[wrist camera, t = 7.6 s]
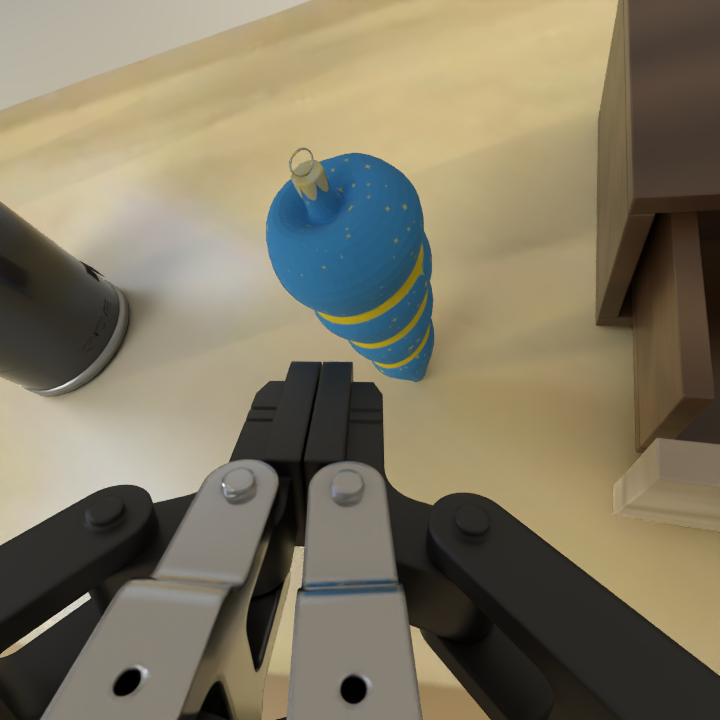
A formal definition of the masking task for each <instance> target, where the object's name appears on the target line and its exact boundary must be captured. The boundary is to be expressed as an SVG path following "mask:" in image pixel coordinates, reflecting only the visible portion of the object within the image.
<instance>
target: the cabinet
mask: <svg viewBox="0 0 720 720" xmlns="http://www.w3.org/2000/svg"><path fill="white" fill-rule="evenodd" d="M698 211H720V0H619V1H618V7H617V13H616V19H615V24H614V30H613V36H612V42H611V48H610V54H609V59H608V65H607V71H606V77H605V83H604V88H603V94H602V100H601V106H600V112H599V118H598V167H597V249H596V325H599V326H628V327H633V314H632V277H633V275H634V272H635V269H636V266H637V264H638V261H639V258H640V256H641V253H642V250H643V247H644V245H645V242H646V239H647V237H648V234H649V231H650V228H651V226H652V223H653V220H654V217H655V215H656V213H674V212H698Z"/></svg>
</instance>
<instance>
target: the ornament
mask: <svg viewBox="0 0 720 720" xmlns="http://www.w3.org/2000/svg"><path fill="white" fill-rule="evenodd" d="M300 150H307V151H309V153H310V154H311V159H312V160H311V161H307V162H304V163H301V164H299V165H298V166H297V167H296V168H295V170H294V171H292V169H291V161H292V158H293V157H294V156H295V154H296V153H297V152H299V151H300ZM289 168H290V171H291V172H292V175H291V179H290V180H289V181H288V182H287V183H286V184H285V185H284V186H283V187H282V188H281V190H280V191H279V192H278V193H277V195H276V197H275V198H274V200H273V202H272V204H271V207H270V210H269V213H268V217H267V222H266V241H267V246H268V252H269V257H270V259H271V262H272V265H273V268H274V271H275V273H276V275H277V277H278V278H279V280H280V282H281V283H282V285H283V287H284V288H285V289H286V290H287V291H288V292H289V293H290V294H291V295H292V296H293V297H294V298H295V299H296V300H298V301H299V302H301V303H302V304H304V305H305V306H307V307H309V308H311V309H313V310H315V313H316V315H317V317H318V318H319V320H320V321H321V323H322V324H323V325H324V326H325V327H326V328H327V329H328V330H330V331H331V332H333V333H334V334H336V335H338V336H340V337H342V338H345V339H347V340H348V341H349V342H350V344H351V346H352V347H353V348H354V349H355V350H356V351H357V352H358V353H359V354H361V355H362V356H364V357H365V358H367V359H369V360H372V362H373V364H374V365H375V367H376V368H377V369H378V370H379V371H380V372H381V373H383V374H384V375H387V376H389V377H392V378H397V379H403V380H410V381H414V382H417V381H420V380H421V379H422V378H423V377H424V375H425V371H426V368H427V366H428V363H429V360H430V357H431V354H432V350H433V345H434V327H433V323H432V319H431V316H432V308H433V294H432V288H431V284H430V278H431V272H432V254H431V249H430V245H429V242H428V239H427V237H426V234H425V232H424V222H423V213H422V208H421V204H420V200H419V197H418V194H417V192H416V190H415V188H414V186H413V185H412V184H411V182H410V181H409V180H408V179H407V178H406V176H405V175H404V174H403V173H402V172H400V171H399V170H398V169H396V168H395V167H394V166H392V165H390V164H388V163H387V162H385V161H383V160H381V159H379V158H376V157H373V156H370V155H366V154H361V153H350V154H344V155H340V156H337V157H334V158H330V159H326V160H323V161H320V162H318V161H316V160H313V155H312V153H311V151H310V150H308V149H306V148H300V149H298V150H296V151H295V152H294V153H293V155H292V157H291V159H290V161H289Z"/></svg>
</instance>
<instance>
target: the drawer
mask: <svg viewBox="0 0 720 720" xmlns="http://www.w3.org/2000/svg"><path fill="white" fill-rule="evenodd" d="M632 314H633V356H634V398H635V440H636V452H638V453H643V454H642V455H641V456H640V457H639V458H638V459H637V460H636V461H635V462H634V464H633V465H632V466H631V467H630V468H629V469H628V470H627V471H626V472H625V473H624V475H623V476H622V477H621V478H620V479H619V480H618V481H617V482H616V483H615V484H614V486H613V514H614V515H617V516H623V517H629V518H635V519H641V520H647V521H653V522H659V523H665V524H672V525H678V526H684V527H690V528H696V529H702V530H708V531H714V532H720V211H698V212H674V213H656V215H655V217H654V220H653V223H652V226H651V228H650V231H649V234H648V237H647V239H646V242H645V245H644V247H643V250H642V253H641V256H640V258H639V261H638V264H637V266H636V269H635V272H634V275H633V277H632Z"/></svg>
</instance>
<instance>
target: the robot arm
mask: <svg viewBox="0 0 720 720" xmlns="http://www.w3.org/2000/svg"><path fill="white" fill-rule="evenodd" d="M91 270H92V271H91ZM93 271H94V272H96V273H98V274H100V273H99V272H97V271H96V270H95V269H94V268H92V267H90V266H88V265H86V264H84V263H83V262H81V261H79V260H77V259H76V258H75V257H73V256H72V255H71V254H69V253H68V252H67V251H65V250H64V249H63V248H61V247H60V246H59V245H57V244H56V243H55V242H53V241H52V240H51V239H49V238H48V237H47V236H45V235H44V234H43V233H41V232H40V231H39V230H37V229H36V228H35V227H33V226H32V225H31V224H30V223H28V222H27V221H26V220H24V219H23V218H22V217H20V216H19V215H18V214H16V213H15V212H14V211H12V210H11V209H10V208H8V207H7V206H6V205H4V204H3V203H2V202H0V377H2V378H4V379H7V380H9V381H11V382H14V383H16V384H19V385H21V386H22V387H23V388H25V389H27V390H29V391H31V392H34V393H36V394H39V395H42V396H58V395H62V394H66V393H68V392H71V391H73V390H75V389H77V388H79V387H81V386H82V385H84V384H85V383H87V382H88V381H89V380H91V379H92V378H93V377H94V376H96V375H97V374H98V373H99V372H100V371H101V370H102V369H103V368H104V367H105V366H106V364H107V363H108V362H109V361H110V359H111V358H112V357H113V355H114V354H115V352H116V351H117V349H118V347H119V346H120V344H121V342H122V340H123V337H124V335H125V332H126V329H127V325H128V320H129V307H128V303H127V300H126V298H125V296H124V294H123V293H122V292H121V291H120V290H119V289H117V288H116V287H115V286H113V285H112V284H111V283H109V282H108V281H105V280H103V279H102V278H101V277H99V276H98V275H97V274H95V273H94V272H93ZM100 275H101V274H100ZM101 276H103V275H101ZM103 277H104V276H103ZM295 546H305V548H304V563H303V577H302V586H301V588H299V589H298V592H297V597H296V606H295V618H294V631H293V644H292V656H291V669H290V682H289V695H288V707H287V717H284V718H281V719H277V720H423V718H422V711H421V704H420V697H419V690H418V682H417V675H416V668H415V661H414V653H413V646H412V639H411V632H410V625H412V626H414V627H417V628H420V631H421V634H422V636H423V638H424V639H425V641H426V642H427V644H428V645H429V646H430V647H431V648H432V650H433V651H434V652H435V653H436V654H437V656H438V657H439V658H440V659H441V660H442V662H443V663H444V664H445V665H446V666H447V668H448V669H449V670H450V671H451V672H452V674H453V675H454V676H455V677H456V678H457V680H458V681H459V682H460V683H461V684H462V686H463V687H464V688H465V689H466V690H467V692H468V693H469V694H470V695H471V696H472V698H473V699H474V700H475V701H476V702H477V704H478V705H479V706H480V707H481V708H482V710H483V711H484V712H485V713H486V714H487V716H488V717H489V718H490V719H491V720H720V676H719V675H718V674H717V673H715V672H714V671H713V670H711V669H710V668H709V667H707V666H706V665H705V664H704V663H702V662H701V661H700V660H698V659H697V658H696V657H695V656H693V655H692V654H691V653H689V652H688V651H687V650H685V649H684V648H683V647H682V646H680V645H679V644H678V643H676V642H675V641H674V640H673V639H671V638H670V637H669V636H667V635H666V634H665V633H664V632H662V631H661V630H660V629H658V628H657V627H656V626H654V625H653V624H652V623H651V622H649V621H648V620H647V619H645V618H644V617H643V616H642V615H640V614H639V613H638V612H636V611H635V610H634V609H633V608H631V607H630V606H629V605H627V604H626V603H625V602H623V601H622V600H621V599H620V598H618V597H617V596H616V595H614V594H613V593H612V592H611V591H609V590H608V589H607V588H605V587H604V586H603V585H601V584H600V583H599V582H598V581H596V580H595V579H594V578H592V577H591V576H590V575H589V574H587V573H586V572H585V571H583V570H582V569H581V568H580V567H578V566H577V565H576V564H574V563H573V562H572V561H570V560H569V559H568V558H567V557H565V556H564V555H563V554H561V553H560V552H559V551H558V550H556V549H555V548H554V547H552V546H551V545H550V544H548V543H547V542H546V541H545V540H543V539H542V538H541V537H539V536H538V535H537V534H536V533H534V532H533V531H532V530H530V529H529V528H528V527H527V526H525V525H524V524H523V523H521V522H520V521H519V520H517V519H516V518H515V517H514V516H512V515H511V514H510V513H508V512H507V511H506V510H505V509H503V508H502V507H501V506H499V505H498V504H497V503H495V502H494V501H492V500H490V499H488V498H486V497H483V496H481V495H477V494H473V493H454V494H450V495H447V496H445V497H443V498H441V499H439V500H438V501H437V502H436V503H435V504H434V505H429V504H426V503H423V502H419V501H416V500H413V499H410V498H408V497H406V496H404V495H403V494H401V493H400V492H398V491H397V490H396V489H395V488H394V487H393V486H392V485H391V484H390V483H389V481H388V479H387V478H386V475H385V470H384V438H383V397H382V393H381V392H380V391H379V389H378V388H377V386H376V385H375V384H374V382H353V362H323V365H322V362H293V361H292V362H291V364H290V367H289V371H288V374H287V377H286V380H285V381H269V382H268V383H267V384H266V385H265V386H264V387H263V388H262V389H260V390H259V391H258V392H257V393H256V396H255V398H254V401H253V403H252V406H251V410H250V411H249V413H248V416H247V418H246V422H245V423H244V426H243V428H242V431H241V433H240V436H239V438H238V441H237V443H236V446H235V448H234V451H233V453H232V456H231V458H230V461H229V463H226V464H224V465H222V466H220V467H218V468H217V469H215V470H214V471H213V472H211V473H210V474H209V475H208V476H207V477H206V479H205V480H204V482H203V483H202V485H201V487H200V489H199V490H198V492H196V493H193V494H190V495H187V496H183V497H179V498H174V499H170V500H166V501H161V502H157V503H153V502H152V499H151V497H150V494H149V493H148V492H147V491H146V490H144V489H143V488H141V487H138V486H134V485H117V486H112V487H108V488H105V489H102V490H100V491H97V492H95V493H93V494H91V495H89V496H87V497H86V498H84V499H82V500H80V501H78V502H77V503H75V504H73V505H71V506H70V507H68V508H66V509H64V510H63V511H61V512H59V513H57V514H55V515H54V516H52V517H50V518H48V519H47V520H45V521H43V522H41V523H40V524H38V525H36V526H34V527H32V528H31V529H29V530H27V531H25V532H24V533H22V534H20V535H18V536H16V537H15V538H13V539H11V540H9V541H8V542H6V543H4V544H2V545H1V546H0V654H1V653H2V652H3V651H5V650H6V649H7V648H9V647H10V646H11V645H13V644H14V643H16V642H17V641H19V640H20V639H21V638H23V637H24V636H26V635H27V634H29V633H30V632H31V631H33V630H34V629H36V628H37V627H39V626H40V625H41V624H43V623H44V622H46V621H47V620H49V619H50V618H51V617H53V616H54V615H56V614H57V613H59V612H60V611H61V610H63V609H64V608H66V607H67V606H69V605H70V604H71V603H73V602H74V601H76V600H77V599H79V598H80V597H81V596H83V595H84V594H86V593H87V592H89V594H90V596H91V599H90V600H88V601H87V602H85V603H84V604H83V605H81V606H80V607H78V608H77V609H76V610H74V611H73V612H71V613H70V614H69V615H67V616H66V617H64V618H63V619H62V620H60V621H59V622H57V623H56V624H55V625H53V626H52V627H50V628H49V629H47V630H46V631H45V632H43V633H42V634H40V635H39V636H38V637H36V638H35V639H33V640H32V641H31V642H29V643H28V644H26V645H25V646H24V647H22V648H21V649H19V650H18V651H16V652H15V653H13V654H11V655H9V656H6V657H3V658H0V720H261V717H262V705H263V691H264V685H265V679H266V675H267V671H268V667H269V663H270V659H271V655H272V651H273V647H274V644H275V640H276V636H277V632H278V628H279V624H280V620H281V616H282V612H283V609H284V605H285V601H286V597H287V593H288V589H289V585H290V568H291V563H292V558H293V552H294V547H295Z"/></svg>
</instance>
